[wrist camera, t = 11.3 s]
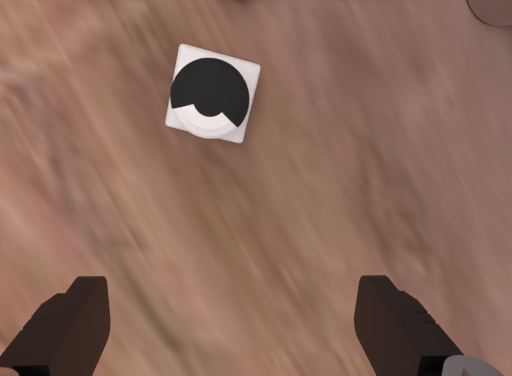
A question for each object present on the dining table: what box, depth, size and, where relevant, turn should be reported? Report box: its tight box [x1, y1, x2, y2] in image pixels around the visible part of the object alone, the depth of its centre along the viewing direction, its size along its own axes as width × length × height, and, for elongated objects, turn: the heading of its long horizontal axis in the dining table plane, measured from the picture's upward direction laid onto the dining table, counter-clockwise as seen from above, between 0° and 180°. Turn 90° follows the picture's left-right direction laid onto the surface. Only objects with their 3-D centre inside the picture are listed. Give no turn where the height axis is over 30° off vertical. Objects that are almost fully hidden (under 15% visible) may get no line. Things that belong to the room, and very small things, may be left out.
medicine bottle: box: [165, 44, 261, 143], centre depth 33 cm, size 7×7×12 cm
